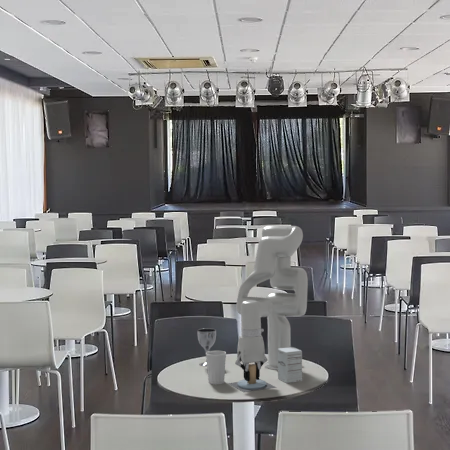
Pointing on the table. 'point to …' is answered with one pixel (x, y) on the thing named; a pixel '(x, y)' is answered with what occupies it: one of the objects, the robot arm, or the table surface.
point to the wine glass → (206, 339)
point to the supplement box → (289, 364)
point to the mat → (251, 389)
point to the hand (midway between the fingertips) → (251, 379)
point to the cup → (216, 366)
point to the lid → (252, 380)
